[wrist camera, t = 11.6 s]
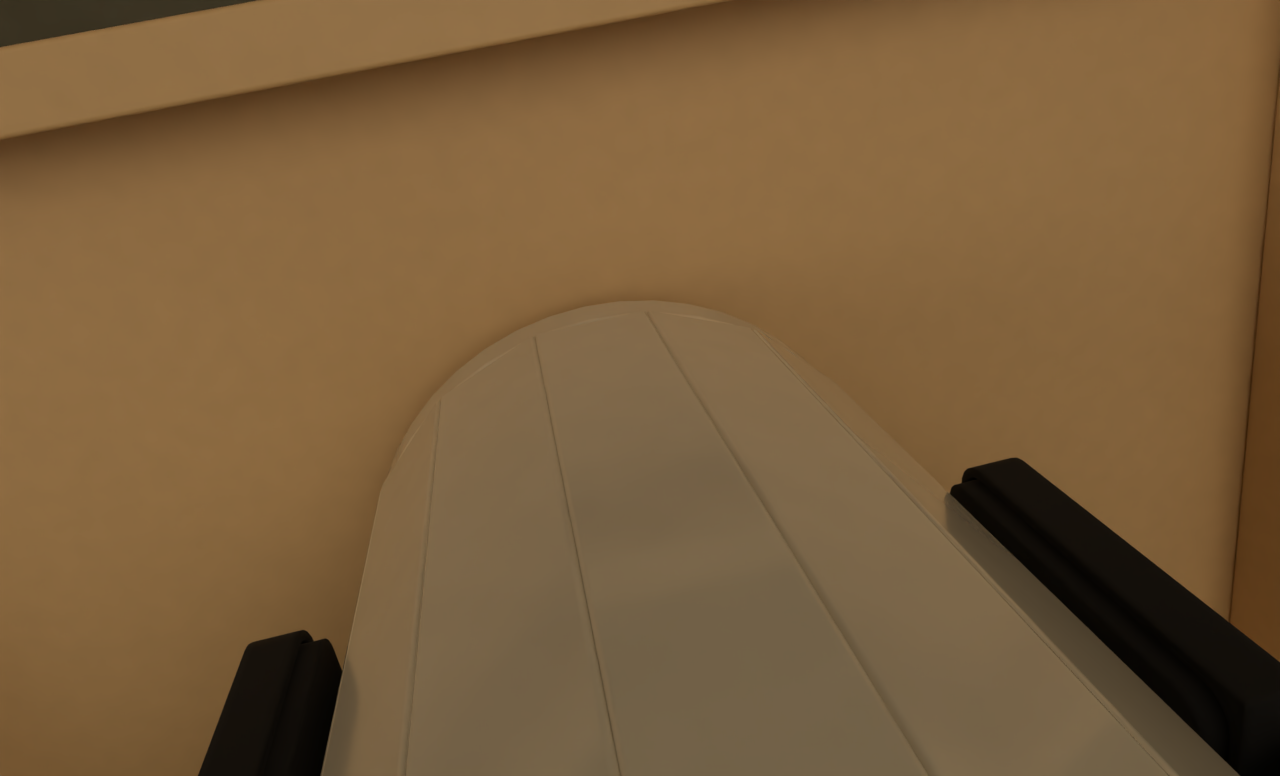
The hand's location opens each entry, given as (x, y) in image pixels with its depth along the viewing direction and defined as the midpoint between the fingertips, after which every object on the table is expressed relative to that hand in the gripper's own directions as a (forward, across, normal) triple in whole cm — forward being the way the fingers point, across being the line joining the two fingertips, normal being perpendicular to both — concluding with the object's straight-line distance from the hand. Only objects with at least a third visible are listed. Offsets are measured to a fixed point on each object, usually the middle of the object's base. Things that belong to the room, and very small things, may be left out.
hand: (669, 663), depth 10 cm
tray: (+4, 0, 0) cm, 4 cm away
